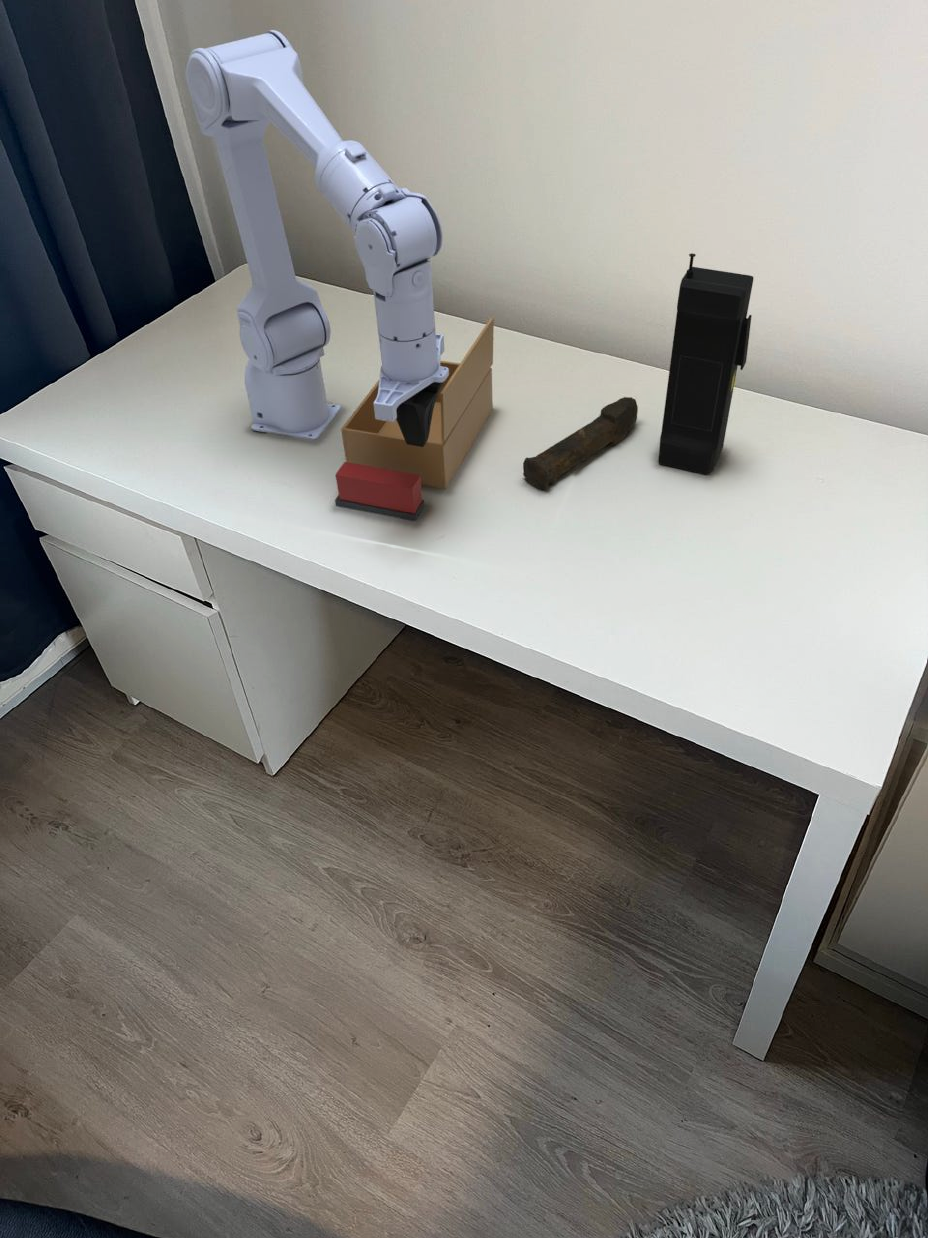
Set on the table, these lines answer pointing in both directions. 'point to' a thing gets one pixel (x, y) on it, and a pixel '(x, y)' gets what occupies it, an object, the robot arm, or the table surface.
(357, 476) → the stapler
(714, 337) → the portable radio
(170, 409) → the table surface
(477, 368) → the flap
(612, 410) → the brown rough bar
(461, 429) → the carton
